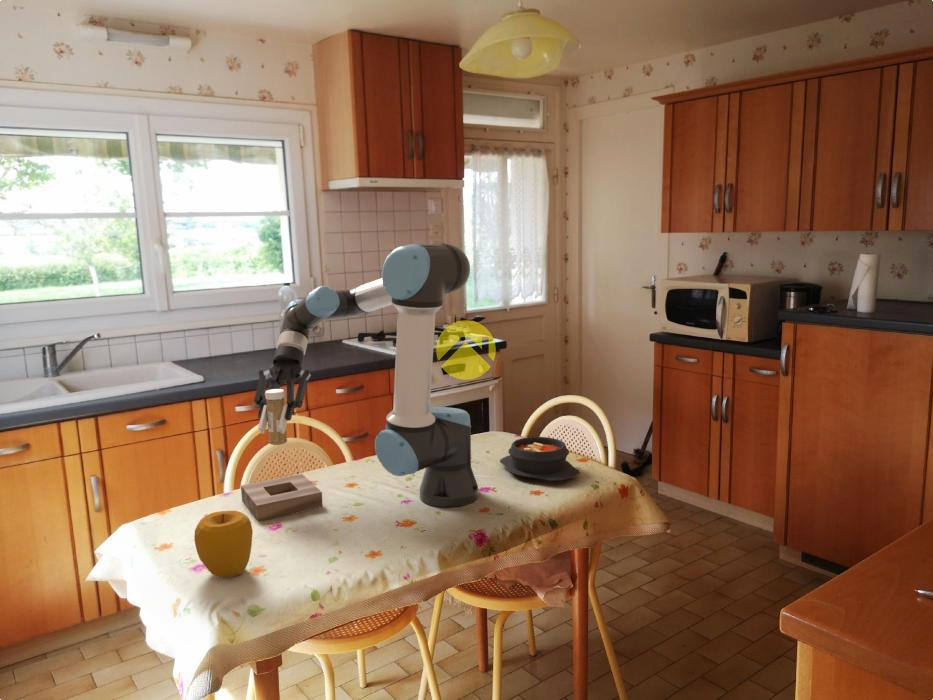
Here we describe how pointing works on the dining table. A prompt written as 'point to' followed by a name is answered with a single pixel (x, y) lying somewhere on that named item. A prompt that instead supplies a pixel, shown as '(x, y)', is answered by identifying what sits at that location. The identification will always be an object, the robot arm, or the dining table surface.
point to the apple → (224, 542)
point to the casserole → (539, 459)
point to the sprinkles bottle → (275, 415)
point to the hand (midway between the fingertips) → (271, 430)
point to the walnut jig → (281, 497)
